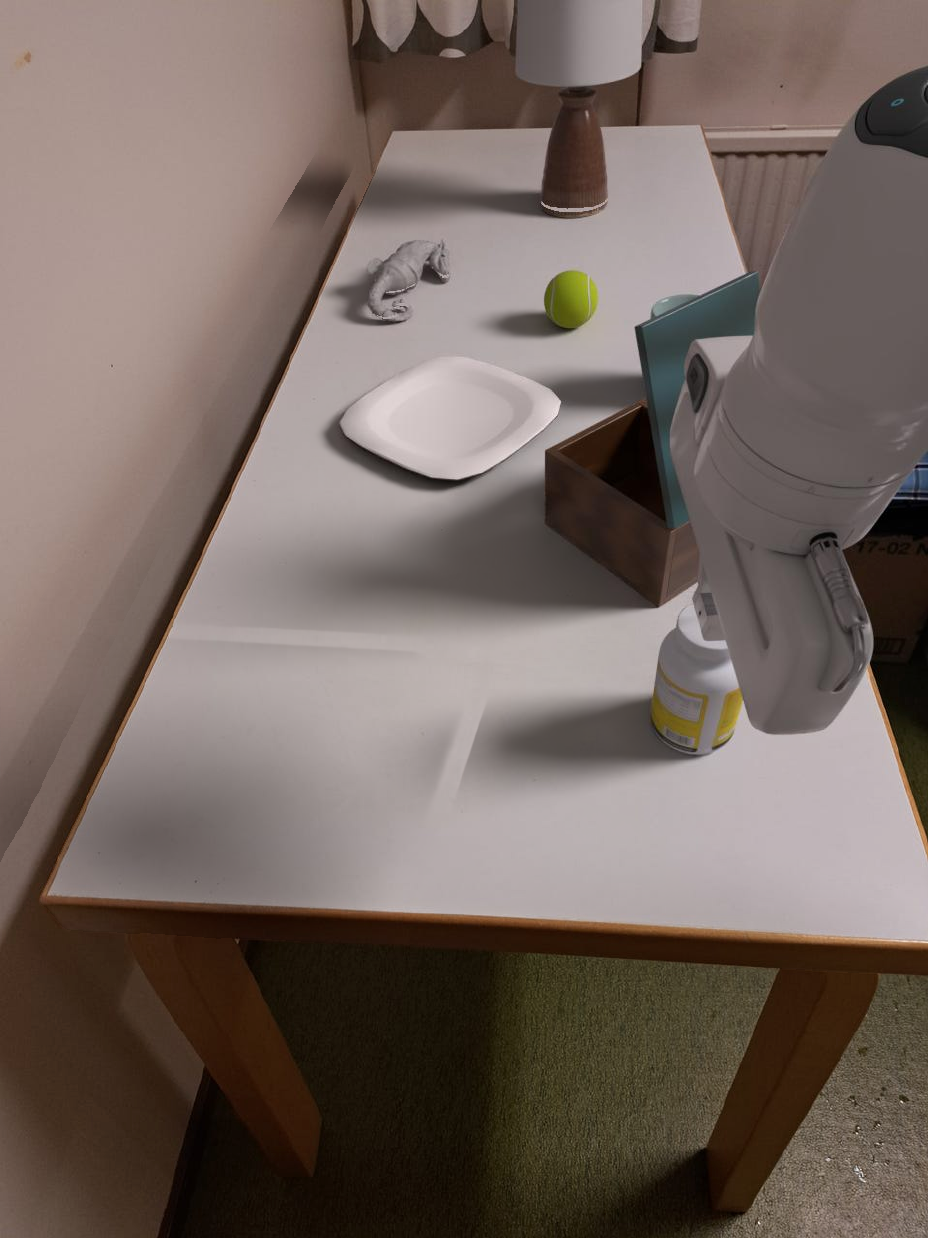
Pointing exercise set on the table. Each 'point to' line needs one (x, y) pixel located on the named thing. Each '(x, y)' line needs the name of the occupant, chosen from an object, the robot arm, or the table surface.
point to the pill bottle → (694, 690)
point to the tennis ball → (571, 299)
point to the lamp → (577, 86)
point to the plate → (450, 417)
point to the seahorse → (404, 274)
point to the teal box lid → (665, 358)
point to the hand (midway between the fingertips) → (709, 620)
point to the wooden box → (619, 505)
